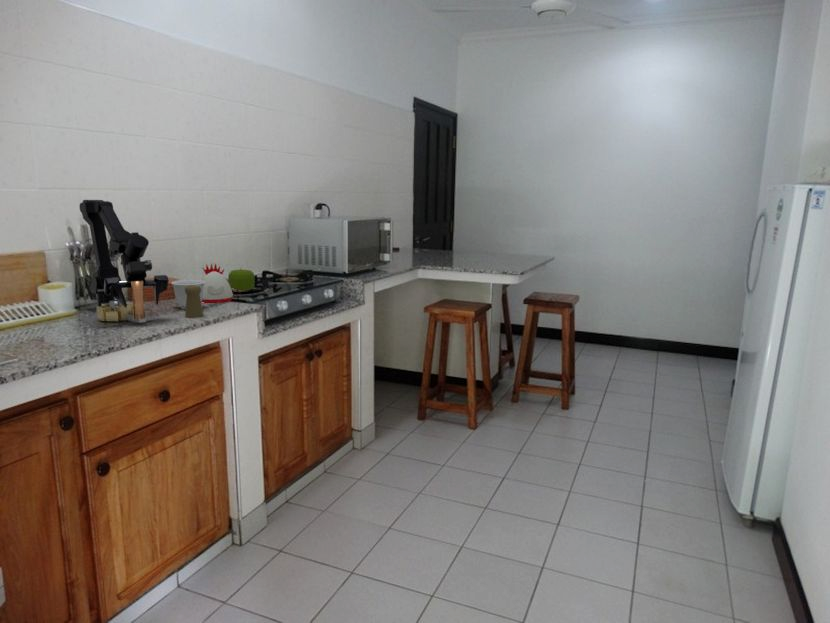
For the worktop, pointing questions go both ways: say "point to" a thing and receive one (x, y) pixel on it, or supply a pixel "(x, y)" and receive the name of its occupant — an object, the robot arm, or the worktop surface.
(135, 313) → the copper cylinder with bracket
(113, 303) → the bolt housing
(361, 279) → the worktop surface
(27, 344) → the worktop surface
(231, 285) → the apple
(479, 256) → the worktop surface
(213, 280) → the kitchen timer
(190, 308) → the pepper mill
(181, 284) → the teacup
